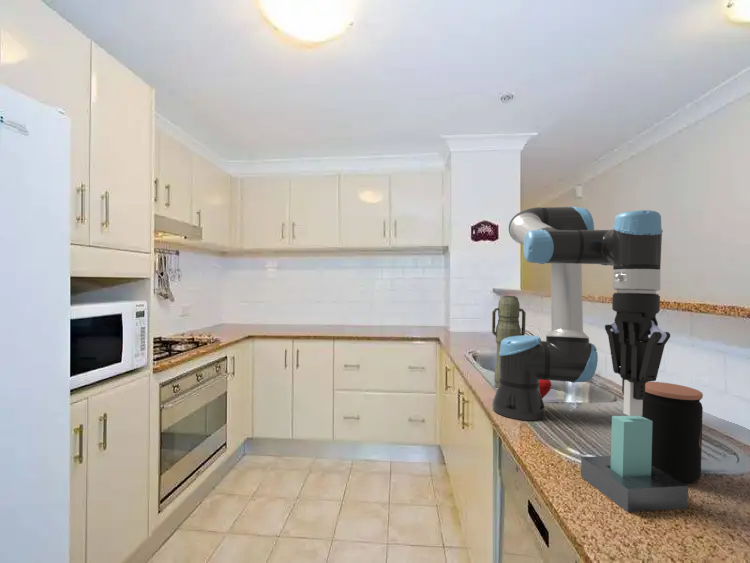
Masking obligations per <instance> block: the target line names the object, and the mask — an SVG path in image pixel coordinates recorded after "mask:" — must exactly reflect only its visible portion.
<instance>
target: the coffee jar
mask: <svg viewBox="0 0 750 563" xmlns="http://www.w3.org/2000/svg"><path fill="white" fill-rule="evenodd" d="M703 396H704V394H703V392H702V391H701V390H699V389H695V388H693V387H690V386H685V385H681V384H675V383H669V382H662V381H661V382H660V381H650V382H646V384H645V399H644V400H643V408H642V417H644V418H646V419H649V420H651V421H653V422H652V460H651V465H652V466H654V467H656V468H657V469H659V470H661V471H663V472H665V473H666V474H668V475H670V476H672V477H673V478H675V479H677V480H679V481H680V482H682V483H684V484H686V485H690V484H694V483H696V482H697V481H698V480H700V478H701V476H702V446H703V444H702V442H703V412H704V411H703V409H704V408H703V405H702V403H701V400H702V399H703Z"/></svg>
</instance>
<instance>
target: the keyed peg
mask: <svg viewBox="0 0 750 563" xmlns="http://www.w3.org/2000/svg"><path fill="white" fill-rule="evenodd" d="M652 422H653V421H651V420H649V419H646V418H644V417H642V416H628V415H612V416H611V433H610V434H611V435H610V436H611V437H610V438H611V439H610V440H611V441H610V442H611V444H610V456H611V470H613V471H614V472H616V473H617V474H619V475H620V476H622V477H638V476H651V460H652Z"/></svg>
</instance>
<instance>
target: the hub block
mask: <svg viewBox="0 0 750 563" xmlns="http://www.w3.org/2000/svg"><path fill="white" fill-rule="evenodd" d="M580 459H581V460H580V461H581V462H580V478H582V479H583V480H585V481H586V482H587V483H588V484H590V485H592V487H594V488H595V489H597V490H598V491H599V492H601V493H602V494H603V495H604V496H606V497H607V498H608V499H610V500H611V501H613V502H614V503H615V504H616V505H617V506H619V507H621V509H622V510H624V511H625V512H626V513H633V512H647V511H648V512H649V511H664V510H665V511H666V510H667V511H668V510H680V509H681V510H682V509H688V507H689V484H684V483H682V482H680V481H679V480H677V479H675V478H673V477H672V476H670V475H668V474H666V473H665V472H663V471H661V470H659V469H657V468H656V467H654V466H652V465H651V476H638V477H622V476H620V475H619V474H617V473H616V472H614V471H613V470H611V455H599V456H598V455H595V456H581V458H580Z"/></svg>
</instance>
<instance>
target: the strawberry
mask: <svg viewBox="0 0 750 563" xmlns="http://www.w3.org/2000/svg"><path fill="white" fill-rule="evenodd" d="M551 387H552V380H540V381H539V390H540V394H541V397H542V400H543V398H545V396H546V395H548V394H549V392H550V391H551Z"/></svg>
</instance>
